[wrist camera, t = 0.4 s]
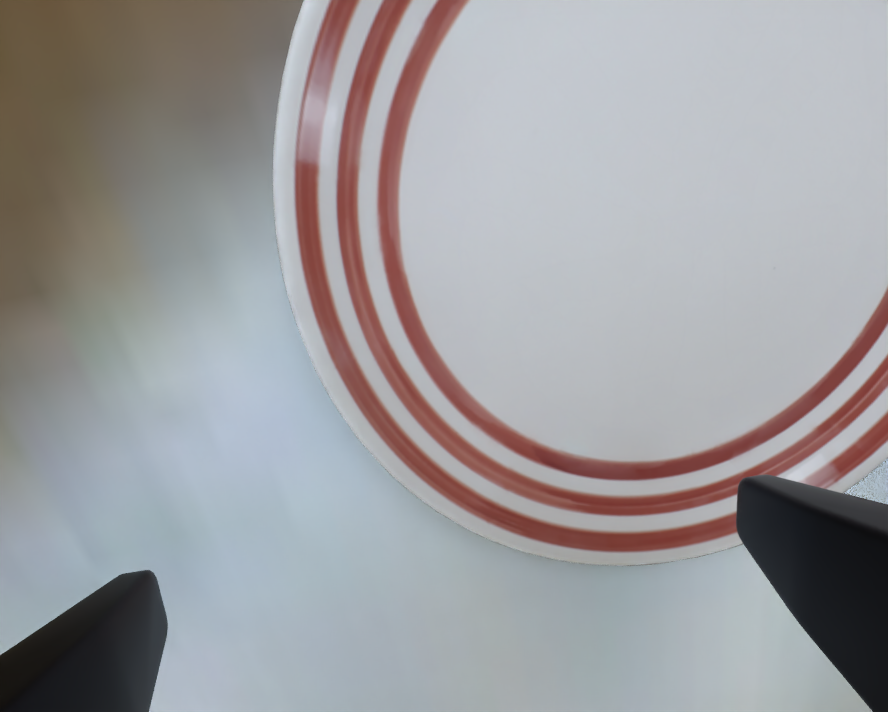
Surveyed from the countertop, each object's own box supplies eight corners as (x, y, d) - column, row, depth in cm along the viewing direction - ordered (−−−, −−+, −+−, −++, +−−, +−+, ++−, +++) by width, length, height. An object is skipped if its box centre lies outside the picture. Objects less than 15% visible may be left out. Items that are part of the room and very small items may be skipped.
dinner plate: (1114, 86, 23) (1233, 69, 20) (710, 613, 28) (755, 668, 25) (567, -485, 16) (616, -647, 13) (150, 345, 21) (112, 373, 18)
